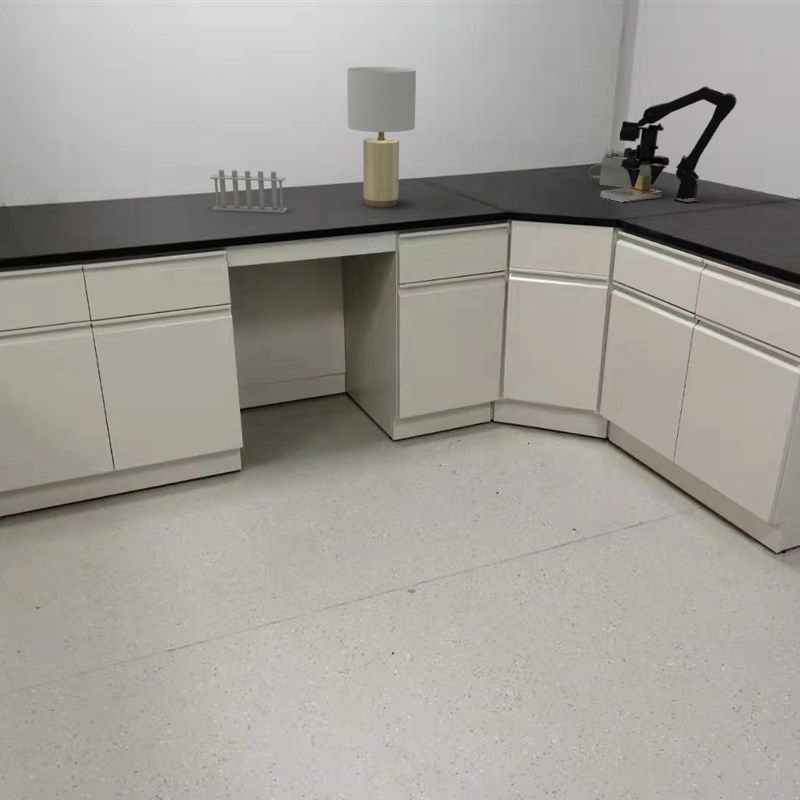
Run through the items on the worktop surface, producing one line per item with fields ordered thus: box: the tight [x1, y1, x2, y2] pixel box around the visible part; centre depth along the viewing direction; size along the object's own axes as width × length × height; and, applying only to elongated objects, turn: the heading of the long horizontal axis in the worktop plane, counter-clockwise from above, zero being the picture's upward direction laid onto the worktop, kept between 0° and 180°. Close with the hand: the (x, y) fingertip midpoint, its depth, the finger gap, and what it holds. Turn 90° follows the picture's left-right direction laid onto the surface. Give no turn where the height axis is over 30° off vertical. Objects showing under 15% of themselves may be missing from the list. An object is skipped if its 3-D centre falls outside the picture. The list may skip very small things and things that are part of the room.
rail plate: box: [600, 187, 663, 202], centre depth 309 cm, size 20×11×3 cm, turn 119°
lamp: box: [346, 66, 417, 209], centre depth 284 cm, size 23×23×44 cm
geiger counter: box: [587, 148, 651, 188], centre depth 324 cm, size 14×6×25 cm
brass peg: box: [634, 174, 652, 191], centre depth 310 cm, size 4×4×8 cm
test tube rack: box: [209, 169, 288, 214], centre depth 280 cm, size 25×4×13 cm, turn 85°
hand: (642, 185), depth 310 cm, fingers open, 9 cm apart
